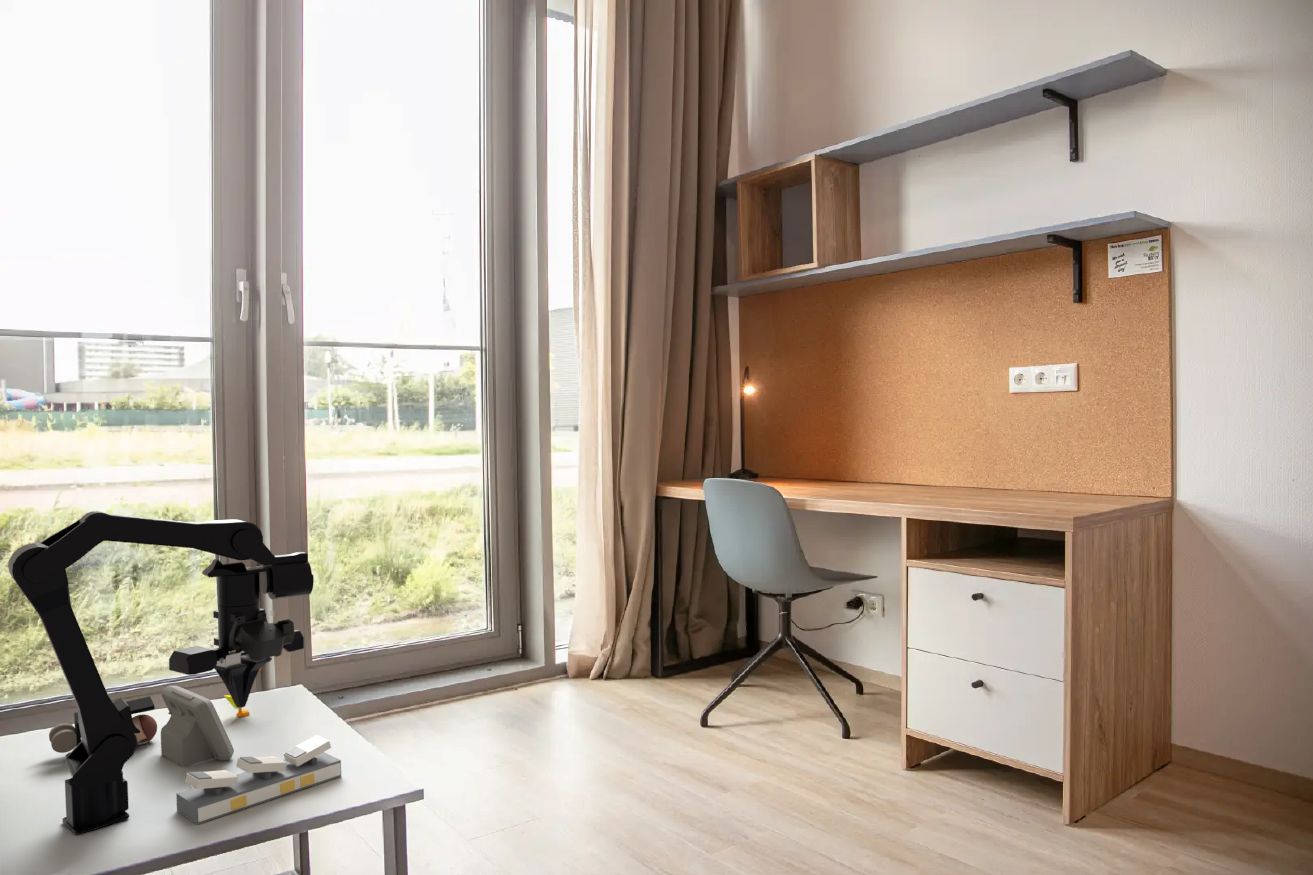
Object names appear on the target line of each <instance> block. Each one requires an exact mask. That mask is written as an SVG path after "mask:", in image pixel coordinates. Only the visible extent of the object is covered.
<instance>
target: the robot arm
mask: <svg viewBox="0 0 1313 875" xmlns="http://www.w3.org/2000/svg"><path fill="white" fill-rule="evenodd" d="M103 542H115V543H117V542H118V543H128V544H138V545H139V544H141V545H148V546H149V545H151V546H164V547H165V546H166V547H175V548H184V549H185V548H187V549H194V550H197V551H202V552H204V553H205V552H206V553H210V554H213V555H217V556H220V557H225V558H229V559H232V560H236V562H229V563H222V562H221V561H220V560H219V559H216V558H215V559H213V560H212V562H211V563H210V564H209V565H208V566H207V567H205V569H203V570H202V572H201V573H202V575H203V576H205V577H207V578H217V604H218V605H217V610H213V613H212V617H213V618H214V619H217V621H218V624H217V625H218V637H214V638H213V645H214V646H217V648H208V647H203V646H199V645H193V646H189V647H186V648H180V649H176V650H173V652H172V653H171V655H170V657H169V658H168V670H169V671H172V672H175V673H180V674H184V675H186V676H188V675H189V676H192V675H194V676H196V675H198V674H202V673H207V672H211V671H213V670H215V671H216V673H217V674H218V676H219V677H220V679H221V680H222V682H223V684H224V686H225V687H226V689H227V691H228V693H229V695H231V697H232V699H233V701H234V703H235V705H236V706H237V707H239V708H241V707H243V708H245V707H246V705H247V702H248V700H249V696H250V693H251V691H252V688H253V685H254V682H255V680H256V678H257V676H258V673H259V672H260V671H261V670H262V669H261V668H263V667H264V666H265V665H266V664H267V663H271V661H272V659H273V657H276V658H277V657H279V656H281V655H282V653H283V650H284V651H286V652H287V653H288V652H289V653H290V652H295V651H299V650H300V651H301V650H303V649H305V647H306V646H305V636H304V634H303V633H302V631H301V630H299V629H295V623H294V622H293V621H292V620H291V619H289V618H288V619H282V620H278V621H276V622H271V623H270V622H268V618H267V612H266V609H265V608H261V601H260V600H261V598H260V597H261V596H260V595H261V594H260V593H261V592H262V594H264V595H266V594H267V595H268V597H269V599H270V600H278V599H287V598H294V597H301V596H303V597H304V596H309V595H311V594H312V592H313V589H314V583H315V582H314V581H315V580H314V579H315V578H314V574H313V571H312V567H311V563H310V562H309V557H308V553H307V552H304V551H297V552H293V553H290V554H279V555H274V554H273V552H272V551H271V550H270V549H269V548H268V547H267V546H266V544H265V543H264V536H263V533H262V531H261V529H260V528H259V527H258V525H257V524H254V523H253V522H248V521H245V520H244V521H243V520H240V519H236V518H235V519H233V518H232V519H216V520H215V519H214V520H206V521H205V520H204V521H192V522H190V521H184V520H183V521H181V520H172V519H171V520H169V519H164V518H163V519H161V518H153V517H152V518H151V517H141V516H132V515H124V514H122V515H121V514H113V513H106V512H104V511H98V510H93V511H89V512H86V513H85V514H84V515H82V517H81V518H79V519H78V520H76V521H74V522H73V523H71V524H70V525H68V526H66V527H64V528H62V529H61V530H58V531H57V532H55V533H54V534H52V535H50V536H49V537H47V538H46V539H43V541H41V542H32V543H27V544H24V545H22V546H20V547H18V548H17V549H16V550H14V552H13V553H12V554H11V556H10V558H9V560H8V565H7V568H8V571H9V572H8V573H9V574H10V576H11V578H12V579H13V580H14V582H15V583H16V585H17V586H18V587H19V589H20V591H21V592H22V593H23V595H24V596H25V597H26V599H27V601H29V603H30V604H31V606H32V608H34V610H35V612H36V613H37V614H38V617H39V619H40V621H41V624H42V626H43V628H44V630H45V633H46V636H47V637H48V640H49V643H50V645H51V648H52V649H53V652H54V654H55V656H56V659H57V662H58V664H59V666H60V669H61V671H62V673H63V675H64V678H65V681H66V682H67V685H68V687H69V690H70V691H71V694H72V697H73V699H74V702H75V705H76V713H77V712H78V721H79V727H80V733H81V739H82V741H81V742H80V743H79V744H78V745H77V746H76V747H75V748H74V749H72V750H71V751H70V752H71V753H70V754H69V755H68V756H65V758H64V762H65V765H66V767H67V769H68V771H69V773H70V775H71V778H67V779H65V780H64V794H65V817H63V818H61V819H62V820H61V821H62V823H63V825H65V827H67V828H68V829H69V830H70V831H71V832H72V833H74V834H75V835H79V834H80V835H81V834H83V833H86V832H90V831H93V830H96V829H99V828H102V827H106V826H109V825H111V824H115V823H119V822H122V821H125V820H128V819H129V818H130V814H129V813H128V812H127V811H128V810H129V807H130V806H129V787H128V786H129V785H128V783H129V782H128V780H126V779H125V778H124V771H123V768H124V765H125V763H126V762H128V761H129V760H130V759H131V758H132V757H133V755H134V754H135V751H136V749H137V748H138V745H137V738H136V735H135V733H140V730H139V729H138V727H137V726H136V725H135V724H134V722H133V720H132V718H133V714H131V710H130V706H129V705H128V704H127V703H126V701H125V699H124V698H123V697H118V698H117V699H116V700H114V701H112V699H111V697H110V696H109V694H108V691H107V690H106V687H105V685H104V682H103V680H102V678H101V674H100V673H99V670H98V668H97V666H96V663H95V661H94V658H93V656H92V654H91V650H90V648H89V647H88V644H87V642H86V639H85V637H84V634H83V632H82V630H81V627H80V625H79V622H78V620H77V617H76V614H75V613H74V610H73V608H72V603H71V595H70V594H71V593H70V586H69V579H68V575H67V573H68V572H67V569H68V568H69V567H71V566H72V565H74V564H75V563H76V562H79V560H81V559H82V558H83V557H85V556H86V555H87V554H88V553H89V552H90V551H92V550H93V549H95V548H96V547H97V546H98V545H100V544H101V543H103ZM247 560H248V561H250V562H252V563H255V564H258V565H259V566H248V567H246V565H245V562H242V561H247ZM237 561H238V562H237ZM260 565H261V566H260ZM260 590H261V592H260ZM260 669H261V670H260ZM259 670H260V671H259ZM258 671H259V672H258Z"/></svg>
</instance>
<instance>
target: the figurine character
mask: <svg viewBox="0 0 1313 875" xmlns="http://www.w3.org/2000/svg"><path fill="white" fill-rule="evenodd" d="M125 702H126V703H127V704H128V705H129V706H130V710H131V714H132V715H134V714H135V715H134V716H132V720H133V722H134V724H135V725H136V726H137V727H138V729H139V730H140V733H135V735H136V738H137V746H141V745H146V744H147V743H149V742H150V741H152V740H153V739H154V737H155V736H156V734H157V731H158V724H157V721H156V720H155V718H154V717H152V716H151V715H149V714H144V712H147V711H152V710H155V708H156V707H155V704H154V702H153V699H152V698H151V696H150V695H149V696H144V697H141V698H140V697H139V698H135V699H130V700H127V701H125ZM138 713H142V714H138ZM137 714H138V715H137ZM73 716H74V725H73V724H71V723H68V722H61V723H57V725H54V726H53V727H52V728H51V729H50V730H49V732H48V739H49V742H50V744H51V746H50V747H51V748H52V750H53V751H54V752H56V753H60V754H64V753H66V755H65V757H67V756H68V755H69V754H70V753H71V752H72V751H73V749H74V748H75V747H76V746H77V745H78V744H79V743H80V742H81V741H82V738H81V733H80V727H79V721H78V712H77V711H76V712H74V713H73Z"/></svg>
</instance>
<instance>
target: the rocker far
mask: <svg viewBox="0 0 1313 875" xmlns="http://www.w3.org/2000/svg"><path fill="white" fill-rule="evenodd" d="M331 748H332V746H331V742H330V740H329V739H326V738H324V737H322V736H320V735H317V734H315V735H314V736H312V737H310V738H308V739H307V740H305V741H303V742H302V743H300V744H299V743H298V744H297V745H295V746H294V747H292V748H289V749H288V750H287V751H284V752H283V757H284V760H286V761H287V762H289V763H291V764H293V765H295V766H297V767H298V766H300V765H302V764H303V763H305V762H307V761H309V760H310V759H312V758H314V757H316V756H317V755H319V754H321V753H323V752H324V753H325V752H326V751H328V750H330V749H331Z"/></svg>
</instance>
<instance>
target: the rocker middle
mask: <svg viewBox="0 0 1313 875" xmlns="http://www.w3.org/2000/svg"><path fill="white" fill-rule="evenodd" d="M283 760H284V759H281V758H279V757H277V756H273V755H271V756H270V755H269V756H240V757H237V759H236V765H235V767H236V768H238V769H240V770H242V771H243V772H247V773H258V772H274V771H285V768H286V763H287V762H285V761H283Z"/></svg>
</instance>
